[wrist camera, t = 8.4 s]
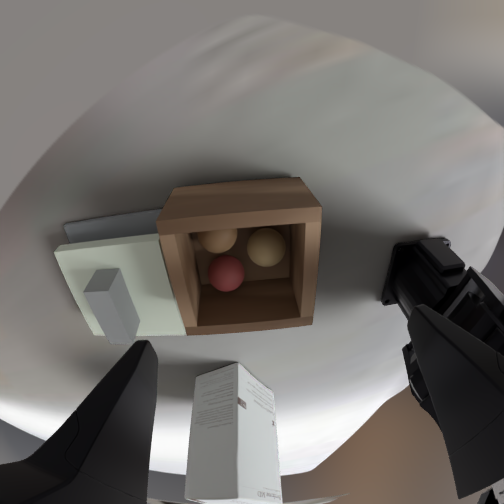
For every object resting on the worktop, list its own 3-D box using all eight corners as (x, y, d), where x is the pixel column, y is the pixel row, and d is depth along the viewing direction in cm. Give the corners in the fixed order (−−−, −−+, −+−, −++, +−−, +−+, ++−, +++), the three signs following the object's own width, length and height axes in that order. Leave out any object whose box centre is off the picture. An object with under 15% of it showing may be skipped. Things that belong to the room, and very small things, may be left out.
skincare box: (274, 390, 31) (289, 504, 18) (232, 404, 32) (237, 510, 20) (235, 358, 27) (242, 501, 14) (189, 375, 28) (182, 503, 16)
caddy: (297, 278, 22) (312, 324, 17) (194, 287, 21) (187, 335, 17) (299, 176, 17) (322, 206, 13) (174, 188, 17) (155, 221, 13)
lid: (187, 317, 23) (181, 359, 19) (100, 319, 23) (85, 356, 19) (164, 226, 19) (148, 262, 15) (65, 238, 18) (37, 271, 14)
